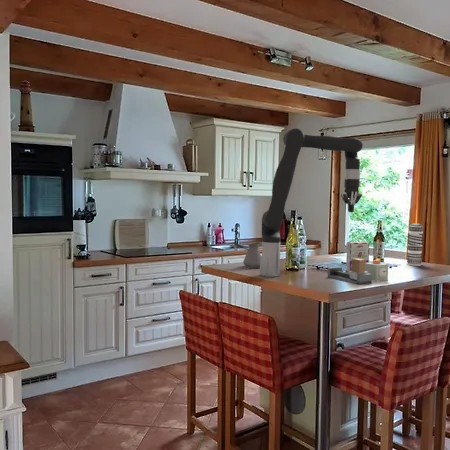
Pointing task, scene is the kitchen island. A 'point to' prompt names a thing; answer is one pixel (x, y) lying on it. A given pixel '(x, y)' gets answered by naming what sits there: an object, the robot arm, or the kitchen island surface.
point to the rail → (359, 277)
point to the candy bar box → (356, 253)
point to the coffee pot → (251, 256)
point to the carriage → (357, 268)
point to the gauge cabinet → (377, 271)
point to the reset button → (376, 261)
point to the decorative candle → (415, 245)
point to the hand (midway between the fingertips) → (350, 212)
